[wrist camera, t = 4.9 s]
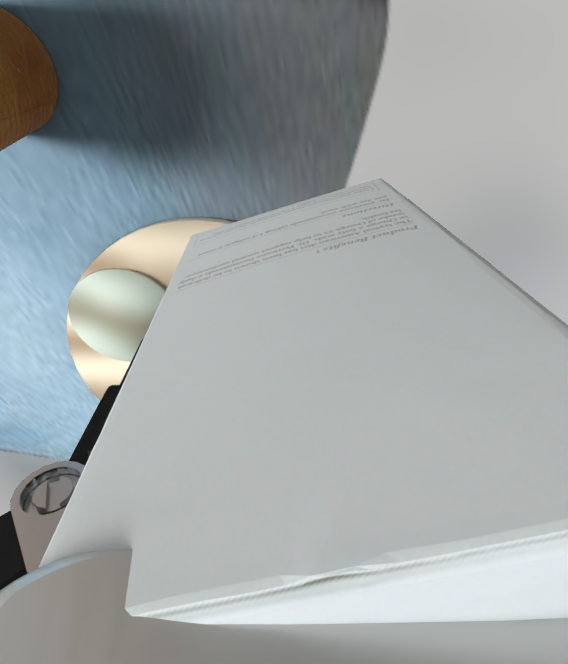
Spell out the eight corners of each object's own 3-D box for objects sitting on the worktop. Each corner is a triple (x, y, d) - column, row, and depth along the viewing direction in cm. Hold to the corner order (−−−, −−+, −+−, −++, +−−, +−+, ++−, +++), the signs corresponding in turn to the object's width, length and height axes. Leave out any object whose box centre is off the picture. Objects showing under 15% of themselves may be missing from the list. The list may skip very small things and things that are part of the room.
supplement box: (250, 383, 18) (228, 811, 8) (186, 230, 14) (-42, 660, 4) (411, 344, 17) (642, 761, 7) (390, 171, 14) (848, 502, 3)
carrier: (39, 211, 28) (-34, 254, 21) (356, 222, 29) (383, 267, 22) (102, 436, 39) (68, 511, 33) (325, 437, 41) (336, 509, 34)
